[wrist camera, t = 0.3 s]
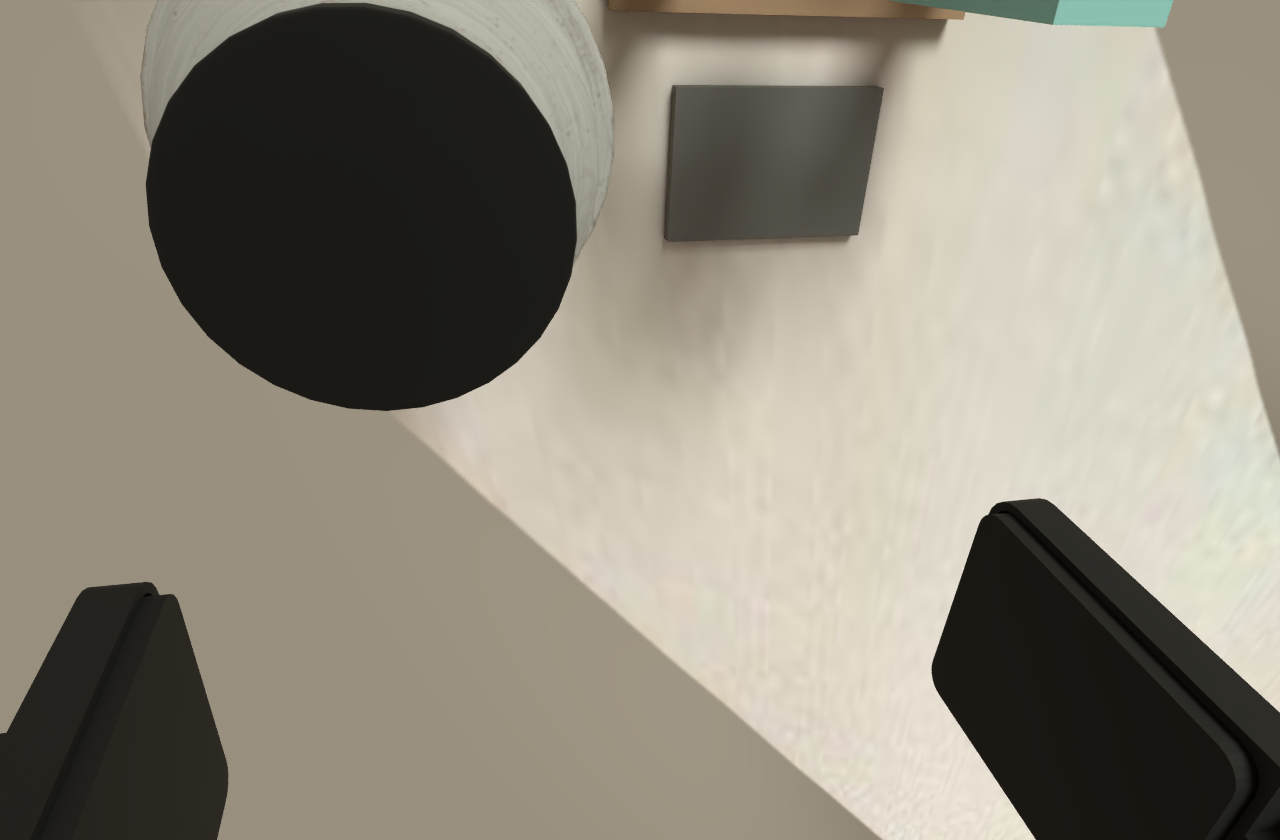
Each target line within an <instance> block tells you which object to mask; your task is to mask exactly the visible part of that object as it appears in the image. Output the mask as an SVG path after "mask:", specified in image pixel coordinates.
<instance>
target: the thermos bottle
mask: <svg viewBox="0 0 1280 840" xmlns="http://www.w3.org/2000/svg"><path fill="white" fill-rule="evenodd" d="M141 89H142V101H143V113H144V125H145V130H146V133H147V137H148V140H149V143H150V147H151V152H150V159H149V166H148V173H147V179H146V192H147V204H148V216H149V227H150V230H151V233H152V236H153V240H154V243H155V247H156V250H157V253H158V256H159V260H160V263H161V266H162V268H163V270H164V272H165V274H166V276H167V278H168V279H169V281H170V283H171V285H172V287H173V289H174V291H175V292H176V294H177V296H178V298H179V300H180V302H181V303H182V305H183V306H184V307H185V309H186V310H187V311H188V312H189V314H190V315H191V316H192V317H193V318H194V320H195V321H196V322H197V323H198V325H199V326H200V327H201V328H202V330H203V331H204V332H205V333H206V334H207V336H208V337H209V338H210V339H212V340H213V341H214V342H215V343H216V344H217V345H218V346H220V347H221V348H222V349H223V350H224V351H225V352H227V353H228V354H229V355H230V356H231V357H232V358H233V359H235V360H236V361H237V362H238V363H239V364H241V365H242V366H244V367H246V368H247V369H249V370H251V371H252V372H254V373H255V374H257V375H259V376H260V377H262V378H264V379H265V380H267V381H269V382H270V383H272V384H273V385H276V386H278V387H281V388H283V389H286V390H288V391H291V392H293V393H296V394H298V395H300V396H303V397H305V398H308V399H310V400H314V401H318V402H323V403H327V404H331V405H336V406H340V407H345V408H351V409H366V410H381V411H390V410H400V409H410V408H420V407H425V406H429V405H432V404H436V403H440V402H443V401H447V400H451V399H454V398H457V397H460V396H462V395H464V394H466V393H468V392H470V391H472V390H474V389H476V388H479V387H481V386H483V385H485V384H487V383H489V382H490V381H492V380H493V379H494V378H496V377H497V376H499V375H500V374H501V373H503V372H504V371H506V370H507V369H508V368H510V367H511V366H513V365H514V364H515V363H517V362H518V361H519V359H520V358H521V357H522V356H523V355H524V354H525V353H526V352H527V351H528V350H529V349H530V348H531V347H532V346H533V345H534V344H535V343H536V342H537V340H538V339H539V338H540V337H541V336H542V334H543V332H544V331H545V329H546V328H547V326H548V324H549V323H550V321H551V320H552V318H553V317H554V315H555V313H556V312H557V310H558V309H559V306H560V303H561V301H562V298H563V296H564V293H565V290H566V288H567V285H568V283H569V280H570V277H571V273H572V267H573V264H574V263H575V261H576V259H577V258H578V256H579V253H580V251H581V249H582V247H583V246H584V244H585V243H586V241H587V239H588V238H589V236H590V235H591V233H592V231H593V228H594V226H595V223H596V221H597V218H598V215H599V213H600V210H601V208H602V205H603V202H604V200H605V197H606V194H607V189H608V183H609V178H610V172H611V166H612V161H613V155H614V114H613V105H612V100H611V95H610V90H609V85H608V79H607V74H606V69H605V65H604V62H603V60H602V57H601V54H600V52H599V49H598V47H597V44H596V42H595V39H594V37H593V34H592V32H591V29H590V27H589V24H588V22H587V20H586V18H585V16H584V15H583V13H582V12H581V10H580V8H579V7H578V5H577V4H576V2H575V0H157V2H156V5H155V8H154V10H153V13H152V15H151V18H150V21H149V23H148V26H147V32H146V40H145V47H144V55H143V62H142V70H141Z"/></svg>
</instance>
